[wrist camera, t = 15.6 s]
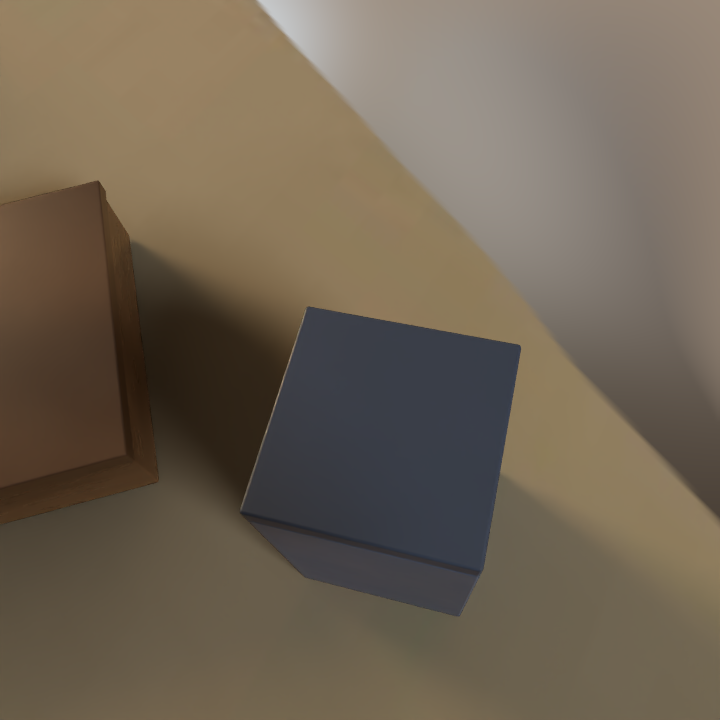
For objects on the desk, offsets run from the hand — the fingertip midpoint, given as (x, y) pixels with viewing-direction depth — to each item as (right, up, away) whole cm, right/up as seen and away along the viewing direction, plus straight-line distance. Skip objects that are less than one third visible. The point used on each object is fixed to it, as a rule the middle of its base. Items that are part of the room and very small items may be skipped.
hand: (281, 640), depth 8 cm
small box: (+2, -2, +13) cm, 13 cm away
